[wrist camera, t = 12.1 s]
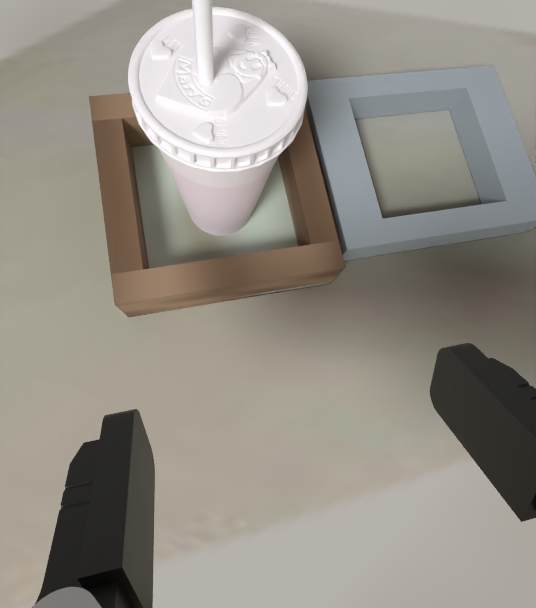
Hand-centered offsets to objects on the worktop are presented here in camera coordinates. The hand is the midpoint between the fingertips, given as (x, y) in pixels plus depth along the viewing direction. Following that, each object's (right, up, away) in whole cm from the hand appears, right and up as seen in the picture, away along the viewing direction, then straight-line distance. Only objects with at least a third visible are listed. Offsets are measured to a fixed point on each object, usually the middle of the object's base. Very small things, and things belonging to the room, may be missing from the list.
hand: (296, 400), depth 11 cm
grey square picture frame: (+9, +11, +16) cm, 21 cm away
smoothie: (-4, +8, +13) cm, 16 cm away
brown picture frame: (-4, +8, +13) cm, 16 cm away
